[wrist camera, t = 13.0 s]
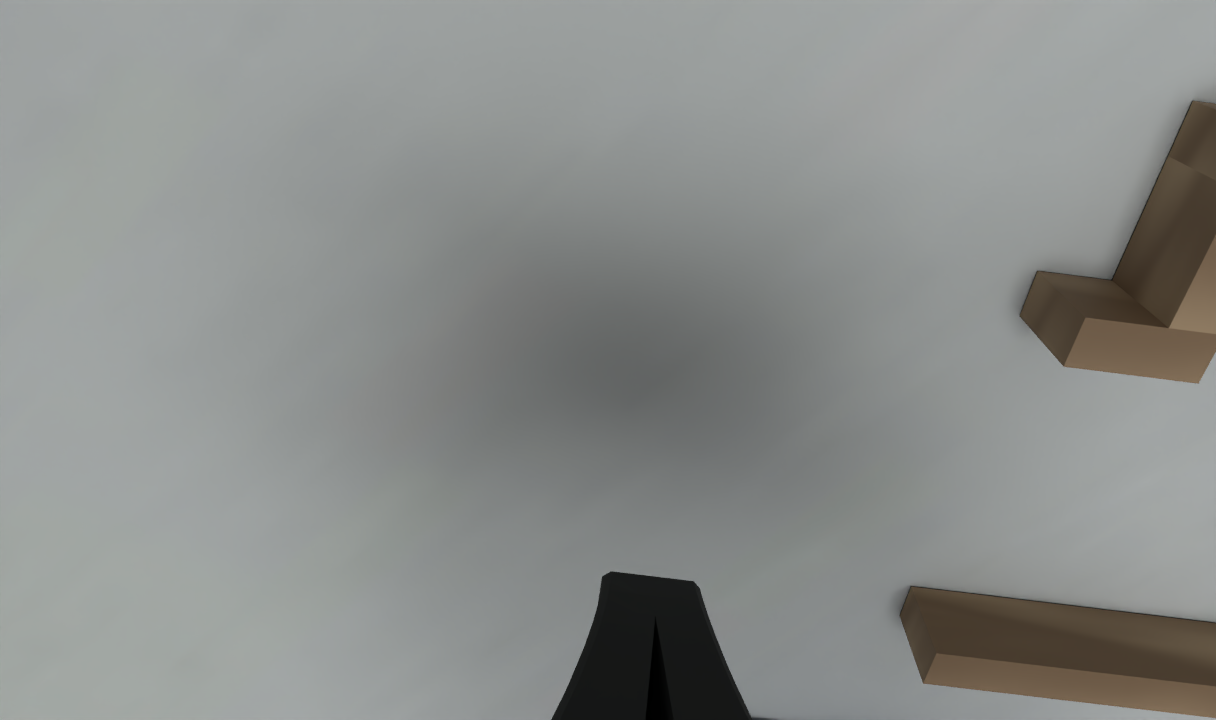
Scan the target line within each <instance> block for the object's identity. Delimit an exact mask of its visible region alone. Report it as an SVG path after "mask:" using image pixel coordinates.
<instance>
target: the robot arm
mask: <svg viewBox="0 0 1216 720" xmlns="http://www.w3.org/2000/svg"><path fill="white" fill-rule="evenodd" d="M551 720H752V718H751V716H750V714H749V712H748V709H747V707H746V705H745V703H744V701H743V699H742V697H741V694H740V692H739V690H738V688H737V686H736V684H735V681H734V679H733V677H732V675H731V672H730V670H729V668H728V666H727V663H726V661H725V658H724V656H723V653H722V651H721V648H720V646H719V643H718V641H717V638H716V636H715V633H714V630H713V628H712V625H711V622H710V620H709V617H708V614H707V611H706V608H705V605H704V602H703V598H702V595H701V591H700V588H699V587H698V586H697V585H696V583H695V582H694V581H686V580H678V579H670V578H661V577H653V576H645V575H636V574H628V573H620V572H609V573H607V574H606V575H604V576H602V581H601V588H600V594H599V601H598V606H597V610H596V614H595V617H594V620H593V624H592V627H591V629H590V632H589V635H588V638H587V641H586V644H585V647H584V649H583V651H582V654H581V656H580V659H579V661H578V663H577V666H576V668H575V671H574V673H573V675H572V678H571V680H570V683H569V685H568V687H567V689H566V691H565V693H564V696H563V698H562V700H561V702H560V704H559V706H558V708H557V710H556V712H555V714H554V715H553V717H552V719H551Z"/></svg>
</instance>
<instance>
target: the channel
mask: <svg viewBox="0 0 1216 720" xmlns="http://www.w3.org/2000/svg"><path fill="white" fill-rule="evenodd" d="M1020 317H1021V318H1022V319H1023V320H1024V322H1025V323H1026V324H1027V325H1028V326H1029V327H1030V328H1031V330H1032V331H1033V332H1034V333H1035V334H1036V335H1037V336H1038V338H1039V339H1040V340H1041V341H1042V342H1043V343H1044V345H1045V346H1046V347H1047V348H1048V349H1049V350H1050V351H1051V353H1052V354H1053V355H1054V356H1055V357H1056V358H1057V359H1058V361H1059V362H1060V363H1061V364H1062V365H1063V366H1064V367H1071V368H1079V369H1087V370H1095V371H1103V372H1111V373H1119V374H1127V375H1135V376H1143V377H1151V378H1159V379H1167V380H1175V381H1183V382H1190V383H1199V381H1200V380H1201V378H1202V376H1203V374H1204V372H1205V370H1206V368H1207V367H1208V365H1209V363H1210V361H1211V359H1212V357H1213V356H1214V354H1215V352H1216V104H1213V103H1206V102H1198V101H1193V102H1192V104H1191V107H1190V109H1189V111H1188V113H1187V115H1186V118H1185V120H1184V122H1183V124H1182V127H1181V129H1180V131H1179V133H1178V135H1177V138H1176V140H1175V142H1174V144H1173V146H1172V149H1171V151H1170V153H1169V155H1168V158H1167V160H1166V162H1165V164H1164V166H1163V169H1162V171H1161V173H1160V175H1159V178H1158V180H1157V182H1156V184H1155V186H1154V189H1153V191H1152V193H1151V195H1150V198H1149V200H1148V202H1147V204H1146V206H1145V209H1144V211H1143V213H1142V215H1141V218H1140V220H1139V222H1138V224H1137V226H1136V229H1135V231H1134V233H1133V235H1132V238H1131V240H1130V242H1129V244H1128V246H1127V249H1126V251H1125V253H1124V255H1123V258H1122V260H1121V262H1120V264H1119V266H1118V269H1117V271H1116V273H1115V275H1114V278H1113V280H1104V279H1097V278H1089V277H1081V276H1073V275H1065V274H1058V273H1050V272H1042V271H1037V274H1036V276H1035V279H1034V281H1033V284H1032V286H1031V289H1030V291H1029V294H1028V296H1027V299H1026V301H1025V304H1024V306H1023V309H1022V311H1021V314H1020ZM900 618H901V621H902V624H903V627H904V629H905V632H906V635H907V638H908V641H909V644H910V647H911V650H912V653H913V656H914V658H915V661H916V664H917V667H918V670H919V673H920V676H921V679H922V682H923V683H924V684H933V685H941V686H949V687H958V688H966V689H975V690H983V691H992V692H1000V693H1009V694H1017V695H1026V696H1034V697H1042V698H1051V699H1059V700H1068V701H1076V702H1085V703H1093V704H1102V705H1110V706H1119V707H1127V708H1135V709H1144V710H1152V711H1161V712H1169V713H1178V714H1186V715H1195V716H1203V717H1212V718H1216V623H1210V622H1201V621H1193V620H1185V619H1176V618H1168V617H1160V616H1151V615H1143V614H1135V613H1127V612H1118V611H1110V610H1102V609H1093V608H1085V607H1077V606H1068V605H1060V604H1052V603H1044V602H1035V601H1027V600H1019V599H1010V598H1002V597H994V596H985V595H977V594H969V593H960V592H952V591H944V590H936V589H927V588H919V587H911V589H910V591H909V594H908V596H907V599H906V601H905V604H904V606H903V609H902V611H901V614H900Z"/></svg>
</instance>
